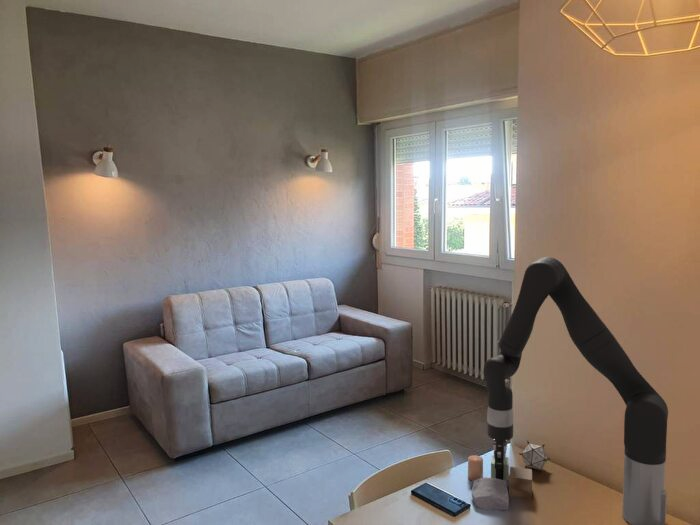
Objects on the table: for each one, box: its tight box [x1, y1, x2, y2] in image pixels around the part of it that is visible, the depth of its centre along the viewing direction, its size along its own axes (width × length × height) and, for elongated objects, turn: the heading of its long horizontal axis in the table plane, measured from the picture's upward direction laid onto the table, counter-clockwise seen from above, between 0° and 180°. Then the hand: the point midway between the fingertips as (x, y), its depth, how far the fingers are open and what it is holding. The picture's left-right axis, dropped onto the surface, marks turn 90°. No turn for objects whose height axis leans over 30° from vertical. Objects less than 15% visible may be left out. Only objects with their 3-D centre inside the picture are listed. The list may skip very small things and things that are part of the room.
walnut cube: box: [508, 466, 533, 501], centre depth 152 cm, size 6×6×6 cm
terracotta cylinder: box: [467, 454, 484, 482], centre depth 160 cm, size 4×4×6 cm
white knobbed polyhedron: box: [518, 440, 551, 473], centre depth 164 cm, size 9×8×10 cm
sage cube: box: [490, 455, 510, 482], centre depth 161 cm, size 5×5×5 cm
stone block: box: [471, 476, 510, 511], centre depth 150 cm, size 12×5×10 cm
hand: (499, 474), depth 161 cm, fingers open, 5 cm apart
